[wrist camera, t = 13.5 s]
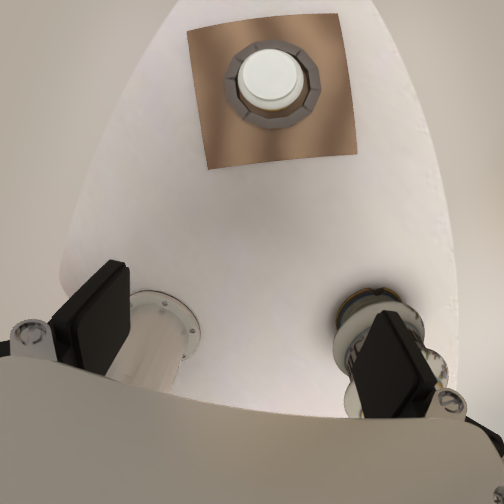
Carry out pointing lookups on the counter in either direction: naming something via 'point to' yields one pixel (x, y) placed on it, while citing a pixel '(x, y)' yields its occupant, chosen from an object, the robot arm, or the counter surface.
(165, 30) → the counter surface
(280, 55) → the supplement bottle
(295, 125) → the stand board
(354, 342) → the apothecary jar
